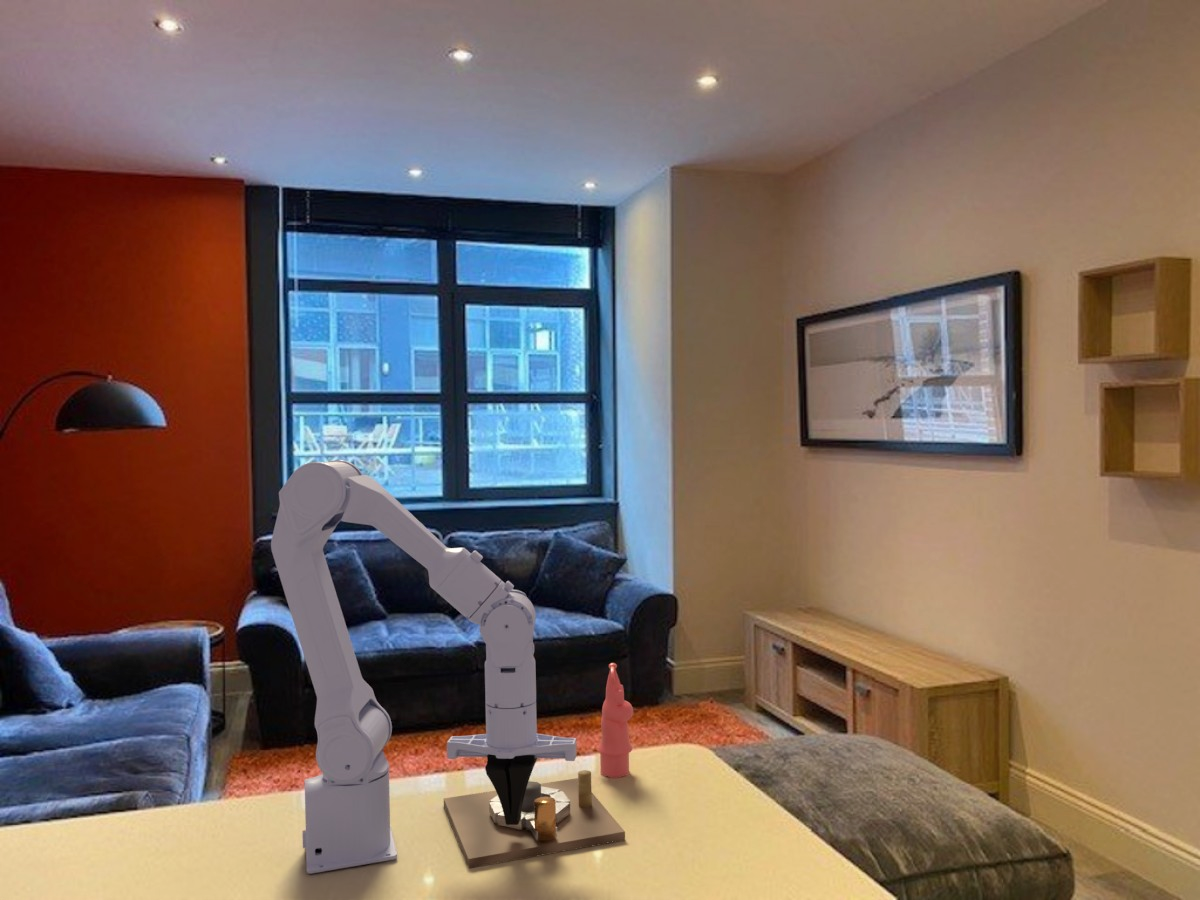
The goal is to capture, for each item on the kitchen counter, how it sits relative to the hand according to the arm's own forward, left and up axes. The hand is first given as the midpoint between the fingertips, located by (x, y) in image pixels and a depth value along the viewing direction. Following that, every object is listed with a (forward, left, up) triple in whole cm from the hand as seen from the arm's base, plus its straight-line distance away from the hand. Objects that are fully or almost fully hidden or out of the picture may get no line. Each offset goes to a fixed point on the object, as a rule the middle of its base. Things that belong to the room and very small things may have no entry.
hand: (513, 821), depth 99 cm
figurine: (+18, +17, -3) cm, 25 cm away
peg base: (+3, +6, -3) cm, 7 cm away
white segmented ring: (+3, +4, -2) cm, 5 cm away
